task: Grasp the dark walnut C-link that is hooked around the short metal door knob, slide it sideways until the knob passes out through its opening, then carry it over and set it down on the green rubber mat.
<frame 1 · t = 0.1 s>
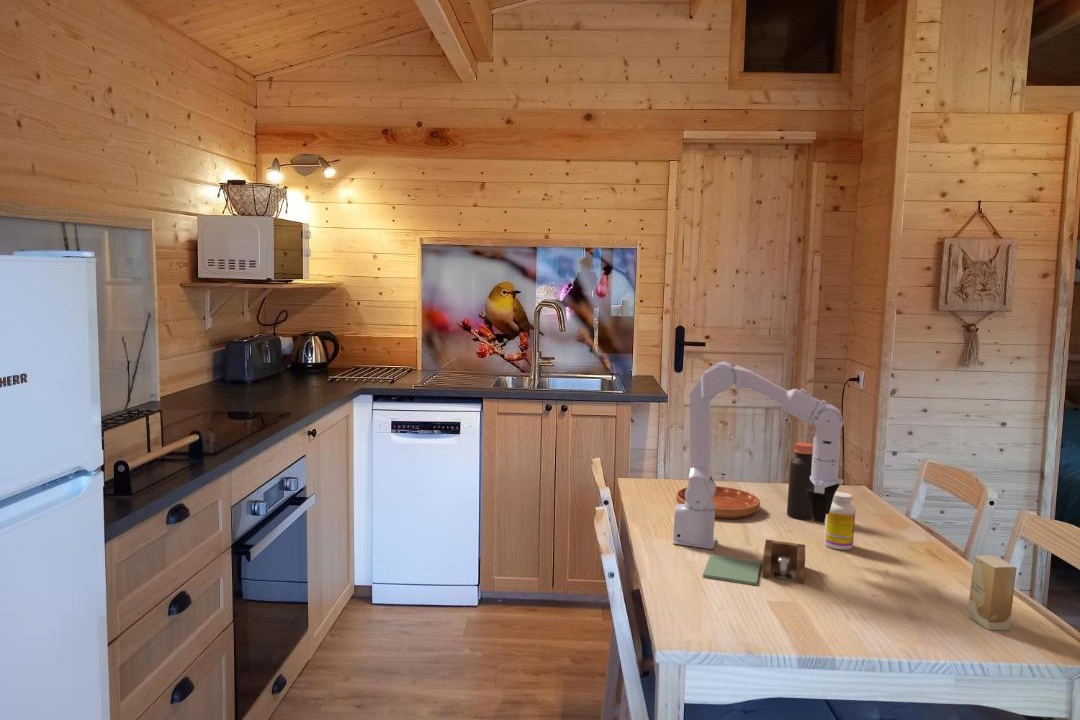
hand: (821, 517, 170), 10 cm above the table, tool pointing down, fingers open, 7 cm apart
green rubber mat: (732, 570, 163), on the table
skincare box: (988, 624, 140), on the table
supplement bottle: (838, 546, 181), on the table
saucer: (717, 509, 210), on the table
metal door knob: (782, 576, 160), on the table
walnut C-link: (783, 572, 163), on the table
vinegar: (799, 516, 205), on the table
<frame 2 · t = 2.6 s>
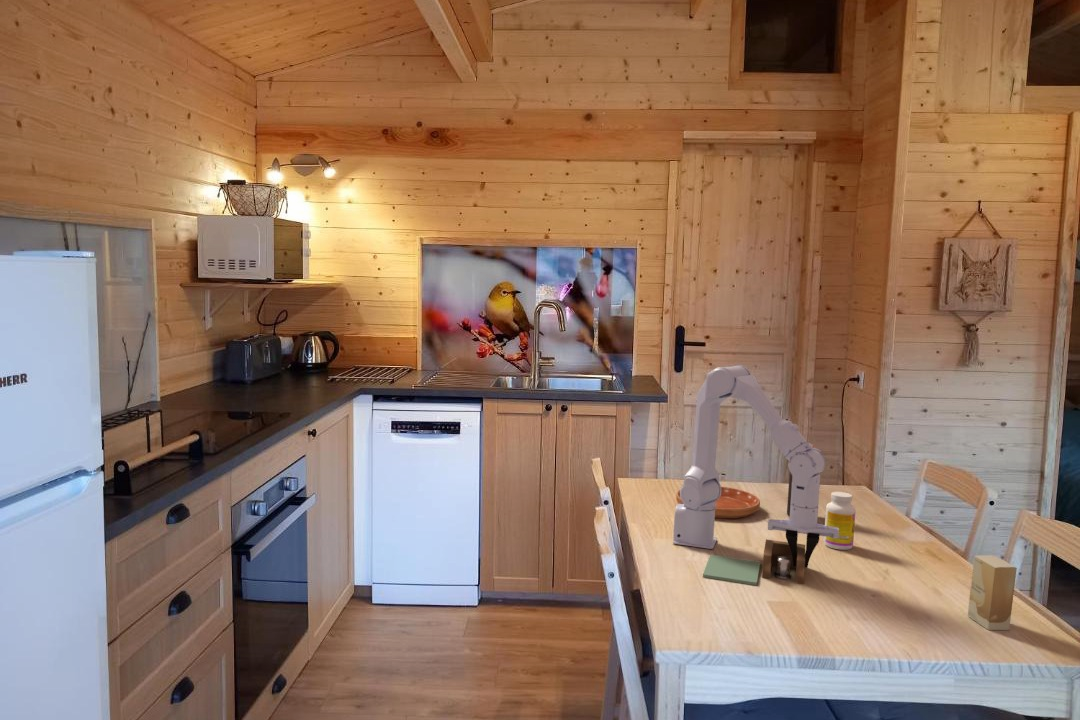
hand: (800, 565, 163), 1 cm above the table, tool pointing down, fingers closed on walnut C-link
walnut C-link: (783, 572, 163), on the table, touching gripper
everything else where it was.
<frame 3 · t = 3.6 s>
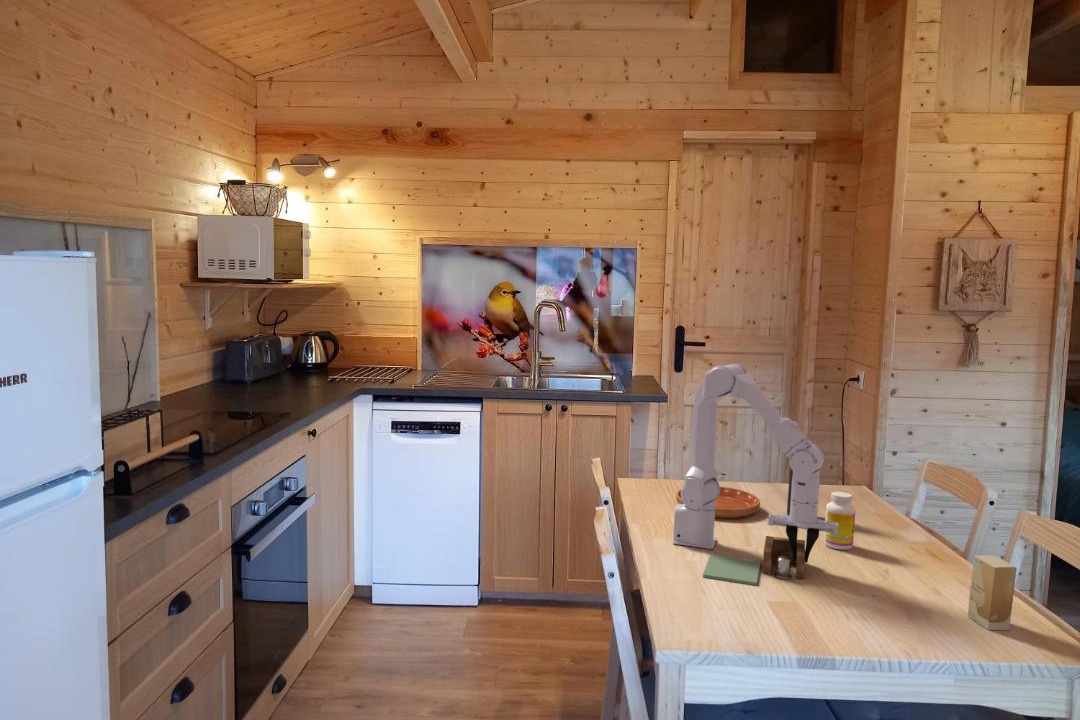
hand: (800, 560, 166), 2 cm above the table, tool pointing down, fingers closed on walnut C-link
walnut C-link: (783, 568, 165), on the table, touching gripper
everything else where it was.
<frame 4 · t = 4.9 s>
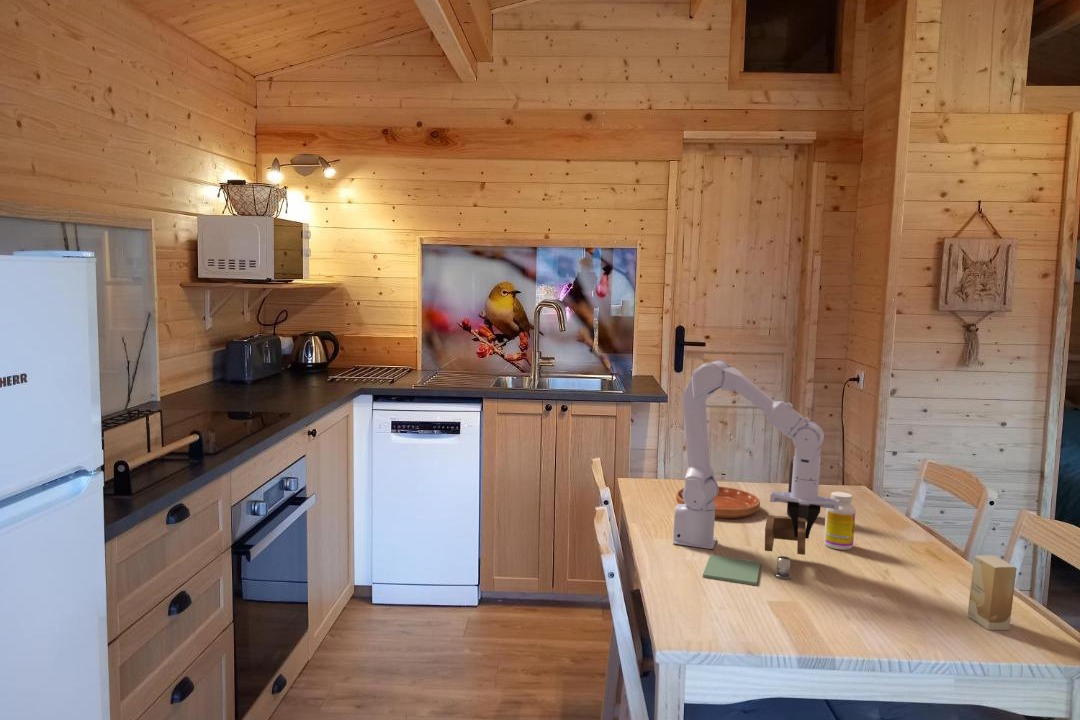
hand: (801, 536, 169), 6 cm above the table, tool pointing down, fingers closed on walnut C-link
walnut C-link: (785, 545, 168), point 4 cm above the table, touching gripper
everything else where it was.
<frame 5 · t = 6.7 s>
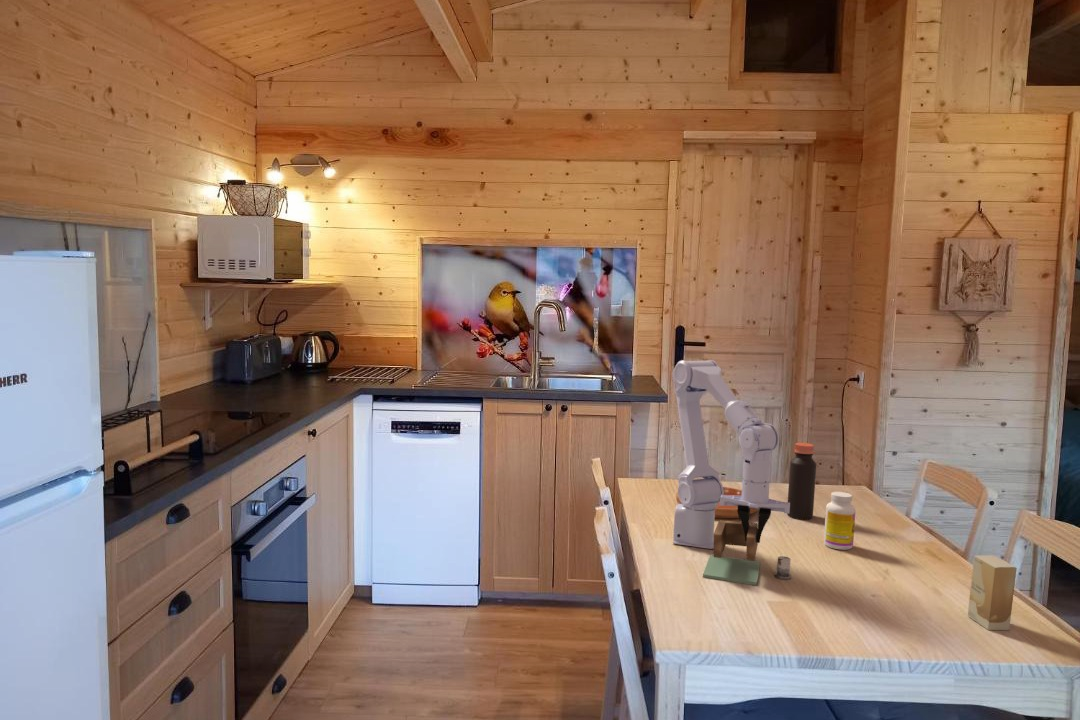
hand: (752, 540, 164), 6 cm above the table, tool pointing down, fingers closed on walnut C-link
walnut C-link: (735, 551, 163), point 4 cm above the table, touching gripper
everything else where it was.
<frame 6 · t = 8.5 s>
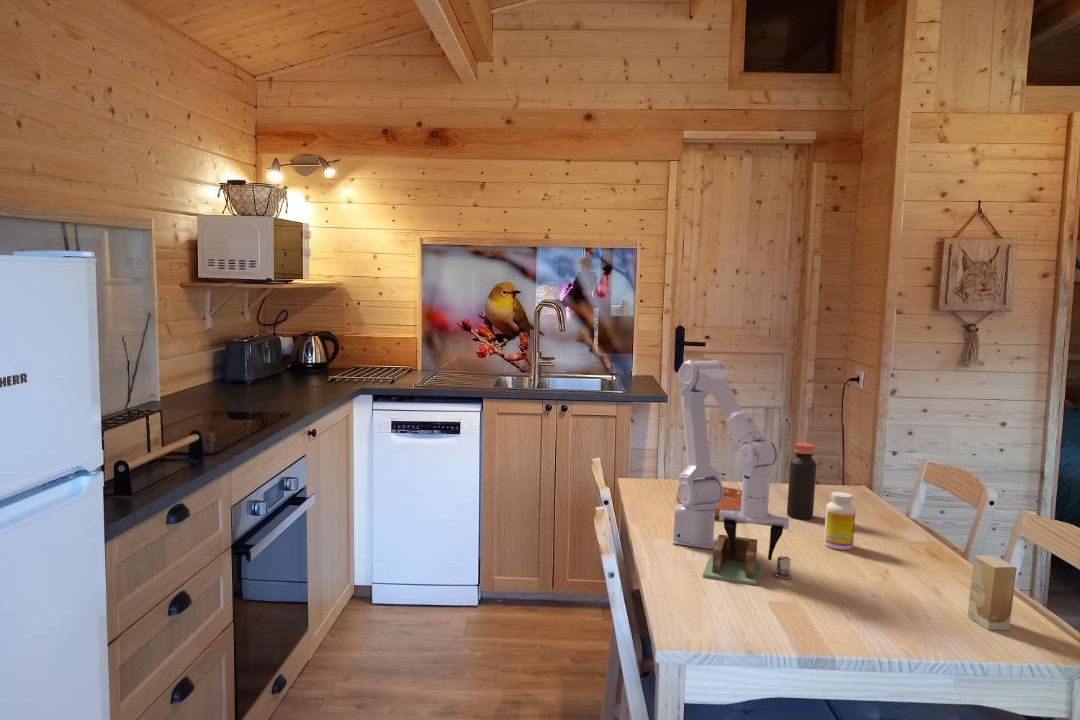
hand: (751, 555, 164), 3 cm above the table, tool pointing down, fingers open, 7 cm apart
walnut C-link: (734, 567, 163), point 1 cm above the table, touching green rubber mat
everything else where it was.
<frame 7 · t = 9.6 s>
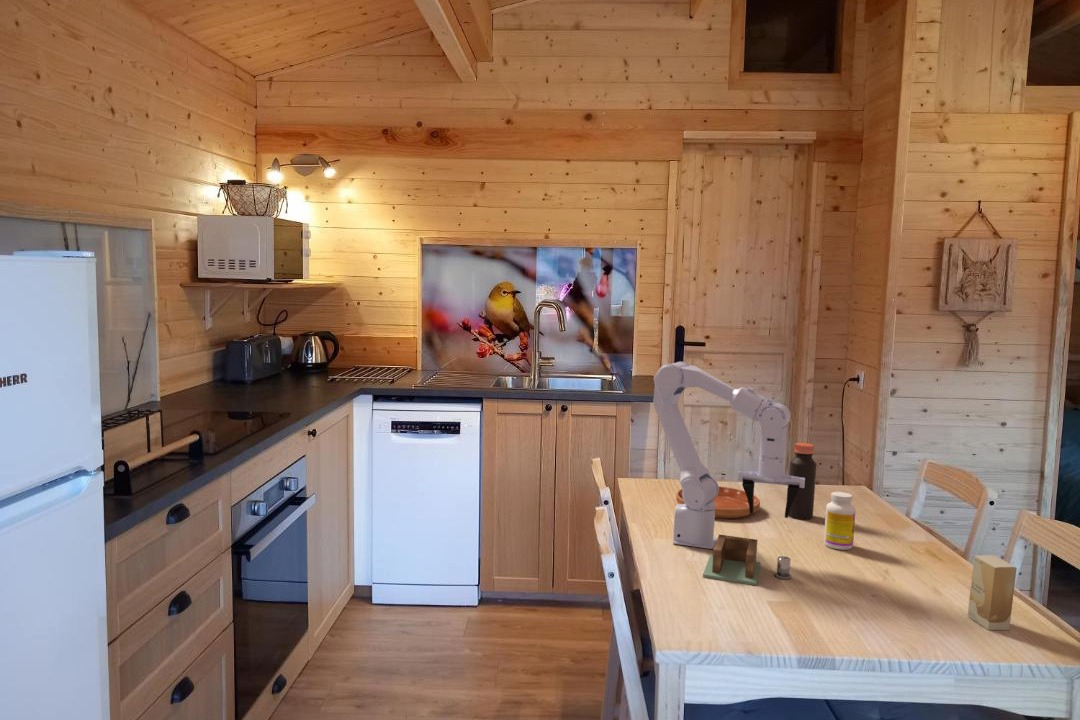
hand: (768, 514, 172), 10 cm above the table, tool pointing down, fingers open, 7 cm apart
nothing on the table moved.
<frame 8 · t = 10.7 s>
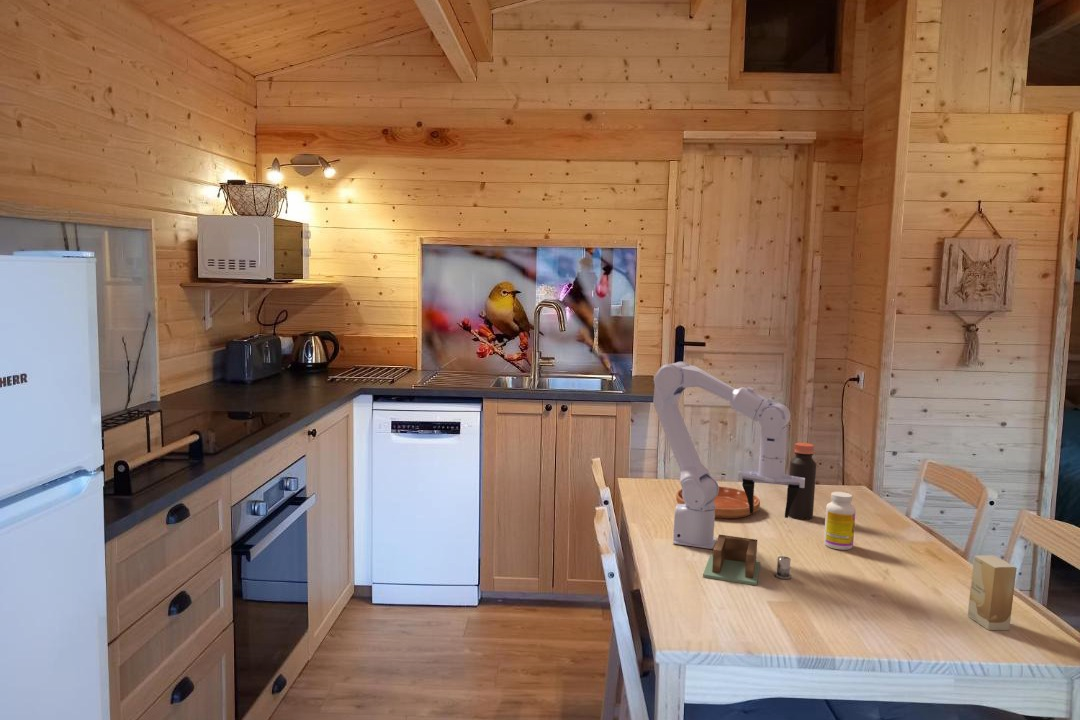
hand: (768, 514, 172), 10 cm above the table, tool pointing down, fingers open, 7 cm apart
nothing on the table moved.
at the end: walnut C-link inside the target area (0.6 cm from its centre), point 0.6 cm above the table; walnut C-link touching green rubber mat; the gripper is holding nothing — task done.
